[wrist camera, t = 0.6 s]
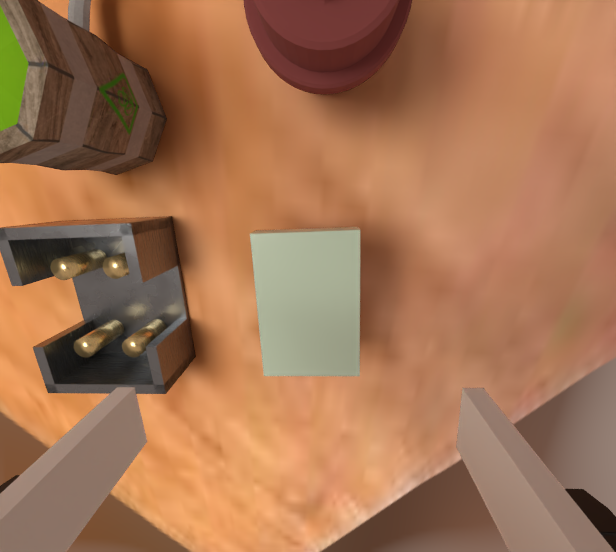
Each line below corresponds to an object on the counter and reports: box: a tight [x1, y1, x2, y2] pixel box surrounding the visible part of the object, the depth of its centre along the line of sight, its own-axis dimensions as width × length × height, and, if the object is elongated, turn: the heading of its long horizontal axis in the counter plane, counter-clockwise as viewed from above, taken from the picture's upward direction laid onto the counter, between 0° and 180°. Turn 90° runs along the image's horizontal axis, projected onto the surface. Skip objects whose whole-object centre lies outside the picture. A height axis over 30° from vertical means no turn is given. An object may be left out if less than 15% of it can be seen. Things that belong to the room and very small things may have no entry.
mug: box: [0, 0, 167, 175], centre depth 21 cm, size 16×11×12 cm
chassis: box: [0, 216, 196, 394], centre depth 29 cm, size 16×12×6 cm
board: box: [250, 227, 360, 376], centre depth 24 cm, size 12×8×2 cm, turn 3°
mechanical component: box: [244, 0, 412, 94], centre depth 19 cm, size 12×10×10 cm
